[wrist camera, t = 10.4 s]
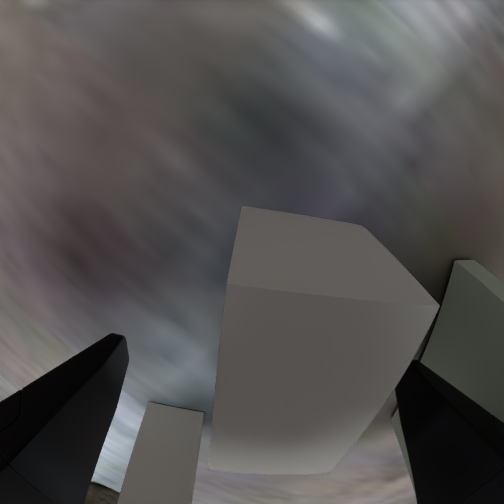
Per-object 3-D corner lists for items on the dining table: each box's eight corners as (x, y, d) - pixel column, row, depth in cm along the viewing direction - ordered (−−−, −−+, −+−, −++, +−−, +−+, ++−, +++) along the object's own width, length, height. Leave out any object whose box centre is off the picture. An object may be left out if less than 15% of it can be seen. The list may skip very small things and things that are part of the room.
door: (423, 412, 13) (463, 513, 6) (390, 420, 13) (425, 530, 6) (491, 259, 9) (607, 367, 2) (454, 260, 9) (584, 394, 2)
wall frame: (444, 407, 14) (489, 513, 5) (433, 421, 14) (472, 523, 6) (148, 401, 13) (104, 554, 4) (151, 416, 13) (113, 557, 5)
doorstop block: (361, 224, 9) (439, 306, 5) (311, 375, 12) (328, 473, 7) (242, 205, 9) (227, 283, 4) (221, 367, 12) (208, 469, 7)
